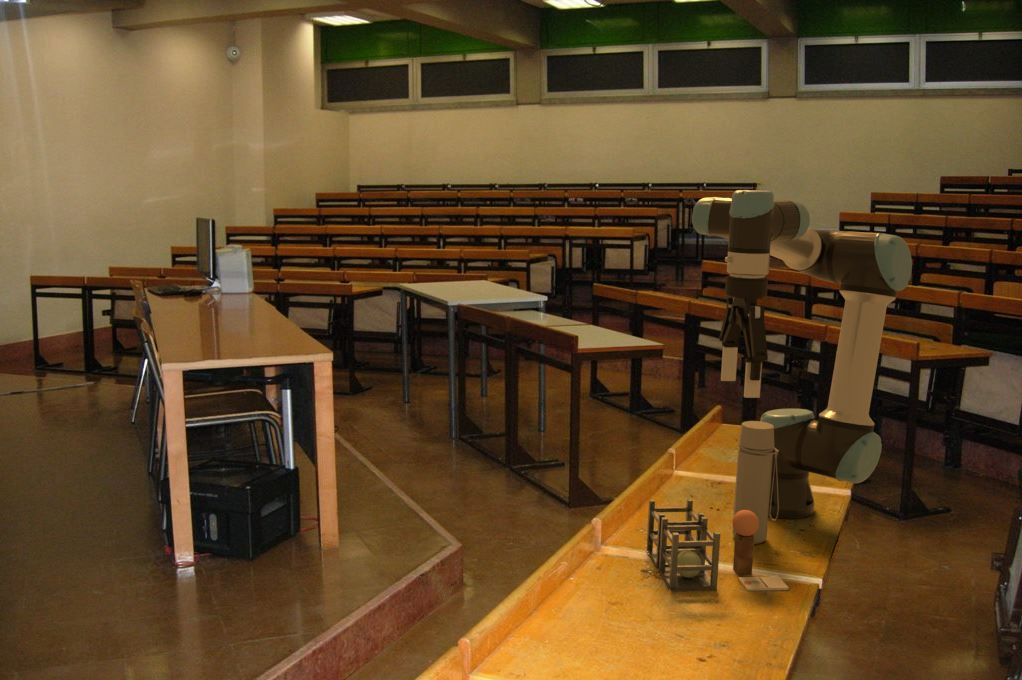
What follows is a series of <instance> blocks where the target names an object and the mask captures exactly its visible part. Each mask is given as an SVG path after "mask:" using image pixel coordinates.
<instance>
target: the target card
mask: <svg viewBox="0 0 1022 680" xmlns="http://www.w3.org/2000/svg"><path fill="white" fill-rule="evenodd" d="M737 579H738V581H739V583H741V585H742V586H743V588H744V589H745V590H746V591H747V592H749V591H753V592H754V591H787V590H788V591H789V590H790V589H789V588H790V587H789V586H788V585H787V583H785V581H784V580H783V579H782V578H781V577H780V576H747V577H740V576H739V577H738V578H737Z"/></svg>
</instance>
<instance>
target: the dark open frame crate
mask: <svg viewBox="0 0 1022 680" xmlns="http://www.w3.org/2000/svg"><path fill="white" fill-rule="evenodd" d="M668 521H669V518H668V517H666V516H665V517H662V519H661V537H660V556H659V569H658V573H659V575H660V576H661V578H662V579H663V581H664V583H665V585H666V586H667V588H668V589H669V591H670V592H681V591H684V592H685V591H686V592H687V591H717V590H718V576H719V560H720V546H721V533H720V531H713V532H711V531H710V529H709V528H708V523H709V518H708V517H707V516H704V517H701V525H677V526H668ZM684 530H691V531H697V530H700V541H684V540H679V539H680V535H679V534H678V532H677V533H672V534H671V533H670V531H684ZM707 538H708V539H709V540H707ZM668 541H669V542H670V544H671V545H672V546H671V549H666V547H667V545H668V544H667V542H668ZM679 546H699V549H678V547H679ZM707 547H712V548H711V549H712V550H711V551H712V552H711V556H710V555H709V553H708V552H707ZM683 551H692V552H694V553H696V554H699V557H700V559H701V563H702V565H686V566H677V562H678V554H679V553H681V552H683ZM668 554H671V559H670V557H669V556H668ZM666 562H667V564H668V565H669V567H665V565H666ZM706 562H707V564H706ZM677 571H700V572H699V573H698V574H697V575H696V576H694V577H691V578H686V577H683V576H681V575H680V574H679V573H678V572H677ZM708 571H710V573H708Z"/></svg>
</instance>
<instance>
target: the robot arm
mask: <svg viewBox="0 0 1022 680" xmlns="http://www.w3.org/2000/svg"><path fill="white" fill-rule="evenodd" d="M810 218H811V217H810V212H809V211H808V208H807V207H806V206H805V205H804V204H803V203H801V202H798V201H795V200H791V199H790V200H789V199H788V200H786V199H785V200H775V195H774V194H773V192H772V191H770V190H755V189H754V190H753V189H751V190H749V189H743V190H742V189H738V190H735V191H733V193H732V195H731V198H730V197H717V196H713V197H703V198H701V199H699V200H698V201H697V202H696V203H695V205H694V206H693V210H692V215H691V223H692V226H693V229H694V230H695V231H696V232H697V234H700V235H704V236H708V237H712V236H715V237H719V238H722V239H725V240H728V246H727V256H725V258H724V262H726V272H727V273H728V274H729V275H727V276H726V277H725V288H724V294H725V296H727V298H726V307H725V312H724V316H723V321H722V326H721V329H720V334H719V337H718V339H719V342H721V345H722V355H721V356H722V358H721V368H720V369H721V372H720V381H721V382H736V380H737V368H738V367H737V365H738V364H737V363H738V351H739V350H738V349H739V348H738V347H740V343H739V339H740V336H741V334H742V332H743V338H744V342H745V343H744V344H745V348H746V355H747V357H746V358H745V359H744V362H745V373H744V387H743V397H744V398H748V399H749V398H750V399H752V398H753V399H755V398H756V399H757V398H758V399H759V398H761V383H762V372H763V371H762V369H763V363H764V362H767V361H768V359H769V356H768V347H767V346H768V345H767V334H766V327H765V326H766V325H765V310H766V309H765V306H761V305H760V306H758V300H759V299H762V300H763V299H764V298H766V297H767V296H768V287H769V278H768V277H766V276H767V275H768V274H769V273H770V265H771V264H770V262H771V256H772V257H774V258H775V259H776V258H777V259H779V260H780V261H781V260H782V261H783V263H784V264H785V265H786V266H787V267H788V268H790V269H793V270H795V271H797V272H800V273H802V274H804V275H807V276H810V277H812V278H815V279H817V280H820V281H825V282H827V283H833V284H838V285H839V284H840V287H839V293H840V294H841V296H842V297H843V298H844V300H845V301H844V305H843V306H844V308H843V312H842V318H841V325H840V330H839V337H838V342H837V343H838V344H837V349H836V353H835V354H836V355H835V361H834V367H833V373H832V379H831V386H830V391H829V397H828V403H827V407H826V409H823V411H821V412H820V413H819V414H818V418H817V419H818V420H817V419H815V415H814V412H813V410H809V409H805V408H778V409H772V410H767V411H766V412H764V413H762V415H761V416H760V420H759V421H760V422H766V423H769V424H772V425H773V426H774V448H776V449H777V450H779V451H778V454H777V476H776V462H775V454H773V461H772V475H771V488H770V501H771V492H772V483H773V492H772V502H771V512H770V514H771V517H772V518H776V517H777V519H787V520H788V519H802V518H807V517H810V516H811V515H813V514H814V512H815V498H814V495H813V491H812V487H811V483H810V479H809V477H810V473H811V474H814V475H815V474H816V475H819V476H823V477H826V478H832V479H834V480H837V481H838V482H846V483H851V484H859V483H862V482H864V481H865V480H867V479H869V477H870V476H871V475H872V474H873V472H874V471H875V469H876V467H877V465H878V463H879V460H880V458H881V453H882V447H883V445H882V438H881V436H880V435H878V434H877V433H876V432H874V430H875V429H874V428H875V422H874V421H873V420H872V418H871V417H870V414H869V413H870V408H871V402H872V396H873V390H874V385H875V378H876V372H877V367H878V366H877V365H878V359H879V355H880V350H881V349H880V348H881V344H882V343H881V342H882V337H883V330H884V327H885V326H884V323H885V320H886V319H885V318H886V313H887V306H888V305H890V304H891V303H892V302H894V301H895V300H896V299H897V292H901V291H904V289H906V288H907V287H908V285H909V282H910V280H911V277H912V273H913V272H912V270H913V259H912V255H911V250H910V248H909V245H908V243H907V242H906V240H905V239H904V238H902V237H901V236H898V235H894V234H888V233H883V232H861V231H847V230H845V231H844V230H829V229H828V230H826V229H825V230H824V229H814V228H811V227H810V223H811V221H810ZM772 452H773V453H775V449H774V450H772ZM774 465H775V472H774ZM773 474H774V482H773ZM777 479H778V500H779V511H778V501H777ZM770 501H769V510H770ZM777 511H778V516H777ZM768 517H770V516H769V515H768Z"/></svg>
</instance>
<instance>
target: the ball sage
mask: <svg viewBox="0 0 1022 680" xmlns="http://www.w3.org/2000/svg"><path fill="white" fill-rule="evenodd" d="M686 565H702V563H701V559H700V557H699V556H698V555H697V554H696V553H694V552H692V551H683V552H681V553H679V554H678V562H677V566H686ZM677 572H678V573H679V574H680V575H681V576H683V577H686V578H691V577H694V576H696V575H697V574H698V573H699V572H700V571H677Z"/></svg>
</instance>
